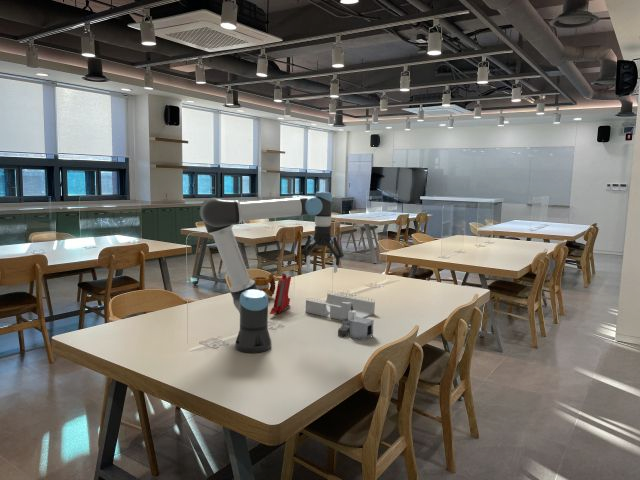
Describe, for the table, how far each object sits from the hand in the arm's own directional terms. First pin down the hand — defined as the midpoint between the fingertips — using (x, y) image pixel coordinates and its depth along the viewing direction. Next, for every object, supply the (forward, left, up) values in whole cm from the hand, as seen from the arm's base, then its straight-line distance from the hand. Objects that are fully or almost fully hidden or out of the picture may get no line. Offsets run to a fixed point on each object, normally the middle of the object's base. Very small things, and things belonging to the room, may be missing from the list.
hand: (321, 270), depth 221 cm
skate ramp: (+31, +2, -29) cm, 43 cm away
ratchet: (+12, -12, -29) cm, 33 cm away
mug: (+43, +52, -29) cm, 73 cm away
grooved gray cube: (0, -24, -25) cm, 35 cm away
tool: (+20, +31, -32) cm, 49 cm away
